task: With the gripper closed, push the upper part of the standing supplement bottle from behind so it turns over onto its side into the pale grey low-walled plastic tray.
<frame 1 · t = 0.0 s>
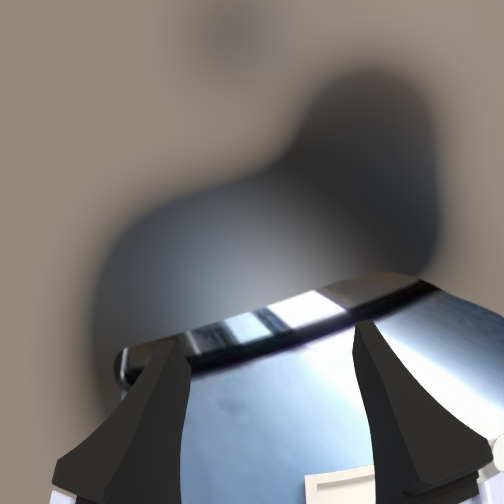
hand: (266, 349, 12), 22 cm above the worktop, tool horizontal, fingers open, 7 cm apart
supplement bottle: (464, 488, 16), on the worktop
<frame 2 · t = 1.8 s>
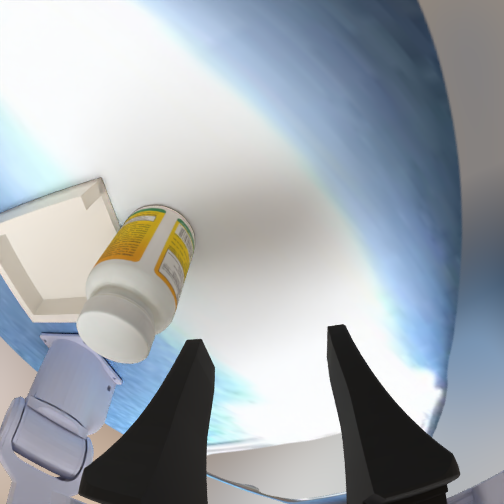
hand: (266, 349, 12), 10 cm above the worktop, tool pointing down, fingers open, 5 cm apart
supplement bottle: (160, 234, 21), on the worktop
tray: (68, 252, 22), on the worktop
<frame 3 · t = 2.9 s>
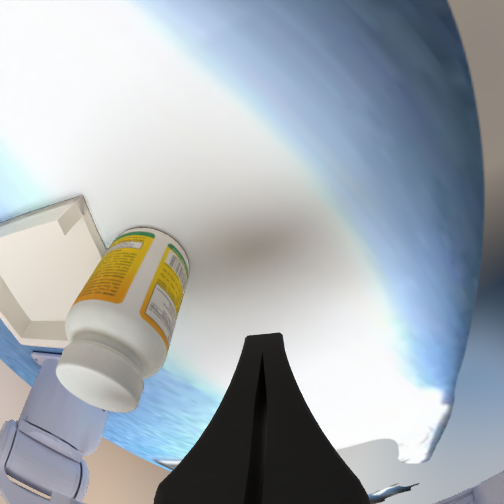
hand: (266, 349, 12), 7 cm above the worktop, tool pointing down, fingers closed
supplement bottle: (150, 258, 19), on the worktop
tray: (53, 274, 20), on the worktop
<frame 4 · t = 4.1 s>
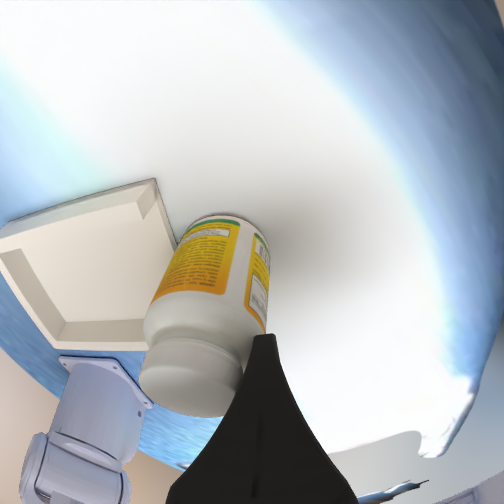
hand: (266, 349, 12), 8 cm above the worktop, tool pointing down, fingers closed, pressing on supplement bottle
supplement bottle: (225, 249, 18), on the worktop, touching gripper
tray: (101, 268, 19), on the worktop
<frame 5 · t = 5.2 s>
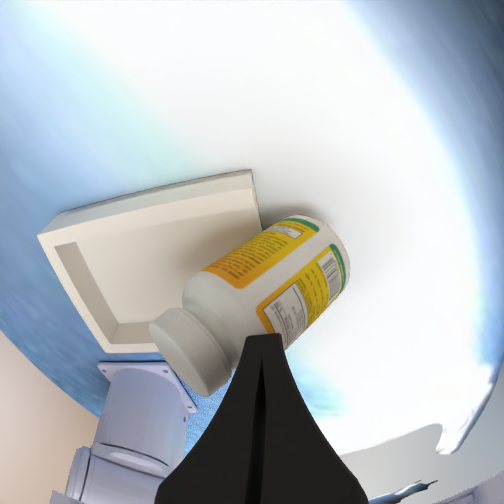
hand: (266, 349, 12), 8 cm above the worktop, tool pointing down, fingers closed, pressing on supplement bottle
supplement bottle: (313, 253, 17), point 2 cm above the worktop, touching gripper, tray
tray: (173, 263, 20), on the worktop
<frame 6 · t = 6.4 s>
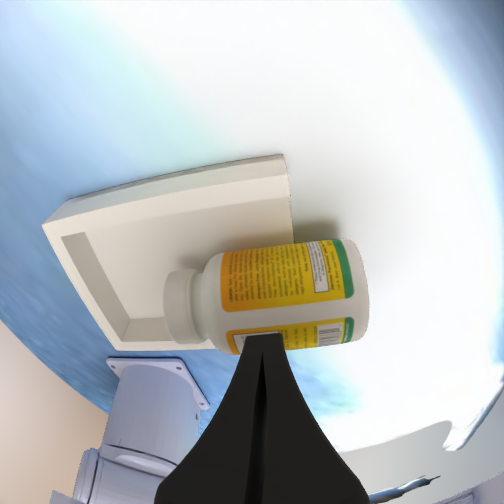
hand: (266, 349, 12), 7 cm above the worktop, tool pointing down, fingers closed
supplement bottle: (360, 287, 15), point 3 cm above the worktop, touching tray
tray: (192, 255, 18), on the worktop
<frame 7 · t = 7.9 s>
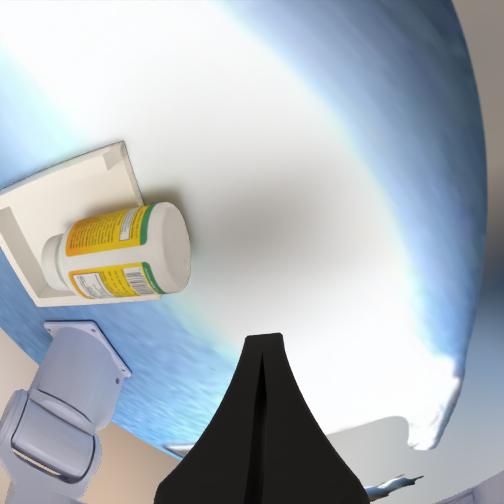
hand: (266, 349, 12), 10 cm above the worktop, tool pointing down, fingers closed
supplement bottle: (181, 245, 17), point 3 cm above the worktop, touching tray
tray: (80, 226, 21), on the worktop
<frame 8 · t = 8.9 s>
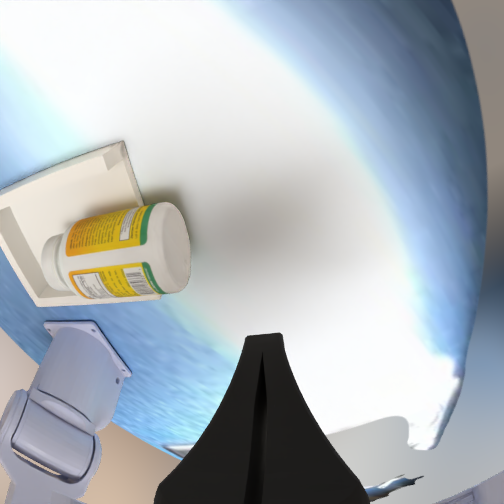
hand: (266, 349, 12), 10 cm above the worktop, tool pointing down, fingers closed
supplement bottle: (181, 245, 17), point 3 cm above the worktop, touching tray
tray: (80, 226, 21), on the worktop
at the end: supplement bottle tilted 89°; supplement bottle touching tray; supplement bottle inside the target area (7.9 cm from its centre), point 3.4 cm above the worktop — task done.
